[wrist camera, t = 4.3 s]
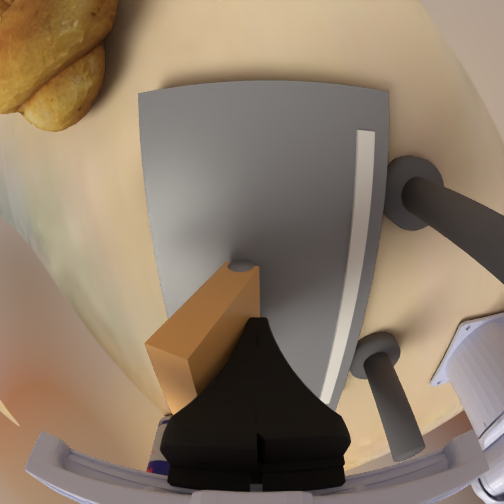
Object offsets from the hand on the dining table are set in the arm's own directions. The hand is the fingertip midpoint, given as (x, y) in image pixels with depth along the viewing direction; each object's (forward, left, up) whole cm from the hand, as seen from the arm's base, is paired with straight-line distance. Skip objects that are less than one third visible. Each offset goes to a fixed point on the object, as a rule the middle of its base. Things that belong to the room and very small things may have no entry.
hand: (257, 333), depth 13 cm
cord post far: (-9, +6, -4) cm, 11 cm away
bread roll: (+11, -16, -4) cm, 20 cm away
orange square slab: (0, 0, -2) cm, 2 cm away
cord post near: (-9, -6, -4) cm, 11 cm away
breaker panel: (-1, 0, -4) cm, 4 cm away
